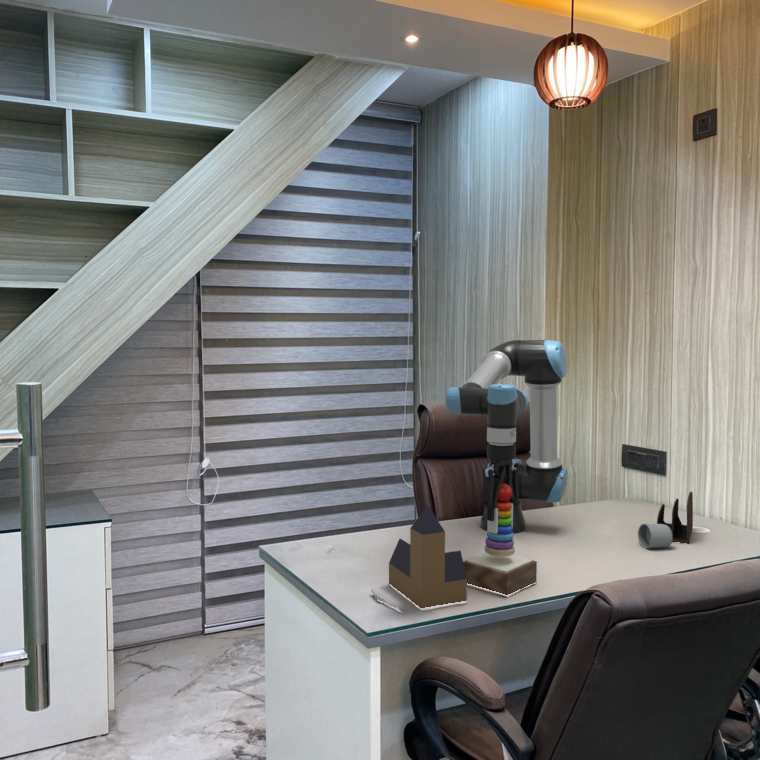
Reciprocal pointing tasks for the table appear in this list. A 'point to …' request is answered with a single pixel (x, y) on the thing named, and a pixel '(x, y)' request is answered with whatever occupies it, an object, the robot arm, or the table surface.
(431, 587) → the toy building blocks
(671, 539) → the ceramic mug
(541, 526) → the table surface
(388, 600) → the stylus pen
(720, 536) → the table surface
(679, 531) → the letter holder
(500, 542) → the stacking toy
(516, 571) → the base block
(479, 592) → the table surface
